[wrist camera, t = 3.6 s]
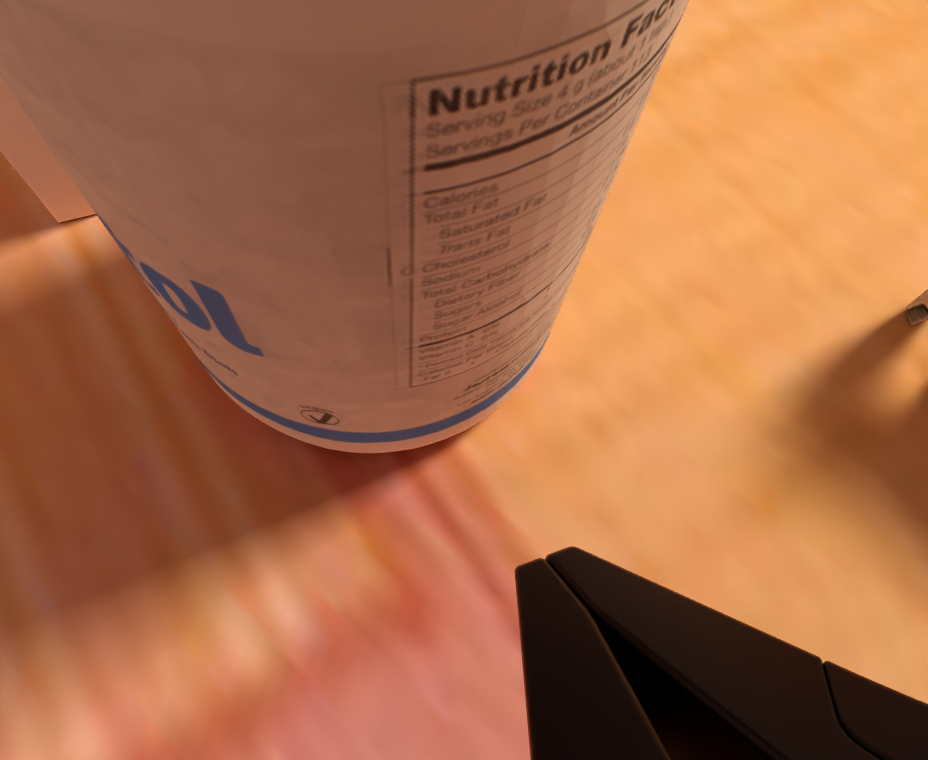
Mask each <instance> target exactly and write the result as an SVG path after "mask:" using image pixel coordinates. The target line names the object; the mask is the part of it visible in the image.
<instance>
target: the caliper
mask: <svg viewBox="0 0 928 760" xmlns="http://www.w3.org/2000/svg"><path fill="white" fill-rule="evenodd" d="M907 317H908V320H909V322H910V324H911V325H914V324H917V323H919V322H922V321H925V320H928V290H926V291H925V292H924V293H923V294H921V295H920V296H919V297H918V298H916V299H915V300H914V301H913V302H912V303H910V304H909V305H908V306H907Z"/></svg>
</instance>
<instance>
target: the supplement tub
mask: <svg viewBox="0 0 928 760" xmlns="http://www.w3.org/2000/svg"><path fill="white" fill-rule="evenodd" d="M688 1H689V0H0V78H1V79H2V80H3V82H4V83H5V85H6V86H7V88H8V89H9V90H10V92H11V93H12V95H13V96H14V98H15V99H16V101H17V102H18V103H19V105H20V106H21V108H22V109H23V111H24V112H25V113H26V115H27V116H28V118H29V119H30V121H31V122H32V123H33V125H34V126H35V128H36V129H37V131H38V132H39V134H40V135H41V136H42V138H43V139H44V141H45V142H46V144H47V145H48V146H49V148H50V149H51V151H52V152H53V154H54V155H55V156H56V158H57V159H58V160H59V162H60V163H61V165H62V166H63V167H64V169H65V170H66V171H67V173H68V174H69V176H70V177H71V179H72V180H73V181H74V183H75V184H76V186H77V187H78V189H79V190H80V191H81V193H82V194H83V196H84V197H85V199H86V200H87V201H88V203H89V204H90V206H91V207H92V209H93V210H94V211H95V213H96V214H97V216H98V217H99V219H100V220H101V221H102V223H103V224H104V226H105V227H106V229H107V230H108V231H109V233H110V234H111V236H112V237H113V239H114V240H115V241H116V243H117V244H118V246H119V247H120V249H121V250H122V251H123V253H124V254H125V256H126V257H127V258H128V260H129V261H130V262H131V264H132V265H133V266H134V268H135V269H136V271H137V272H138V274H139V275H140V277H141V278H142V279H143V281H144V282H145V284H146V285H147V287H148V288H149V290H150V291H151V292H152V294H153V295H154V297H155V298H156V299H157V301H158V302H159V304H160V305H161V307H162V308H163V309H164V311H165V312H166V314H167V315H168V316H169V318H170V319H171V321H172V322H173V323H174V325H175V326H176V328H177V329H178V330H179V332H180V333H181V335H182V336H183V337H184V339H185V340H186V342H187V343H188V344H189V346H190V347H191V349H192V351H193V352H194V354H195V355H196V357H197V358H198V359H199V361H200V362H201V364H202V365H203V366H204V368H205V369H206V370H207V372H208V373H209V374H210V376H211V377H212V378H213V380H214V381H215V382H216V384H217V385H218V386H219V387H220V388H221V389H222V390H223V391H224V392H225V393H226V394H227V395H228V396H229V397H230V398H231V399H232V400H233V401H234V402H235V403H237V404H238V405H239V406H240V407H241V408H243V409H244V410H245V411H246V412H248V413H249V414H251V415H252V416H254V417H255V418H257V419H258V420H260V421H262V422H263V423H265V424H267V425H268V426H270V427H272V428H274V429H276V430H278V431H280V432H282V433H284V434H286V435H288V436H291V437H293V438H295V439H298V440H300V441H303V442H306V443H309V444H312V445H316V446H320V447H323V448H327V449H332V450H338V451H345V452H355V453H385V452H395V451H402V450H408V449H415V448H418V447H422V446H426V445H429V444H432V443H435V442H438V441H441V440H444V439H447V438H449V437H451V436H454V435H456V434H458V433H461V432H463V431H465V430H466V429H468V428H470V427H471V426H473V425H475V424H476V423H478V422H480V421H482V420H483V419H485V418H486V417H487V416H489V415H490V414H492V413H493V412H494V411H495V410H497V409H498V408H499V407H500V406H501V405H502V404H503V403H504V402H506V401H507V400H508V399H509V398H510V397H511V396H512V395H513V393H514V392H515V391H516V390H517V389H518V388H519V387H520V385H521V384H522V383H523V382H524V381H525V379H526V378H527V376H528V375H529V373H530V372H531V370H532V369H533V367H534V366H535V364H536V362H537V360H538V358H539V356H540V354H541V352H542V350H543V348H544V345H545V342H546V340H547V338H548V336H549V334H550V331H551V329H552V326H553V324H554V322H555V319H556V317H557V314H558V312H559V310H560V307H561V305H562V303H563V300H564V298H565V295H566V293H567V291H568V288H569V286H570V283H571V281H572V279H573V276H574V274H575V272H576V269H577V267H578V264H579V262H580V260H581V257H582V255H583V252H584V250H585V247H586V245H587V243H588V240H589V238H590V235H591V233H592V231H593V228H594V226H595V223H596V221H597V219H598V217H599V215H600V212H601V210H602V207H603V205H604V202H605V200H606V197H607V195H608V193H609V190H610V188H611V186H612V183H613V181H614V178H615V176H616V174H617V171H618V169H619V167H620V164H621V162H622V159H623V157H624V155H625V152H626V150H627V147H628V145H629V143H630V140H631V138H632V135H633V133H634V130H635V128H636V126H637V123H638V121H639V118H640V116H641V113H642V111H643V108H644V106H645V104H646V101H647V99H648V96H649V94H650V91H651V89H652V87H653V84H654V82H655V79H656V77H657V74H658V72H659V70H660V67H661V65H662V62H663V60H664V57H665V55H666V53H667V50H668V48H669V46H670V43H671V41H672V39H673V36H674V34H675V32H676V29H677V27H678V25H679V22H680V20H681V17H682V15H683V13H684V10H685V8H686V6H687V3H688Z"/></svg>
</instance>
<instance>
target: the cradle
mask: <svg viewBox="0 0 928 760" xmlns="http://www.w3.org/2000/svg"><path fill="white" fill-rule="evenodd" d="M0 152H1V153H2V154H3V155H4V157H5V158H6V159H7V160H8V161H9V163H10V164H11V165H12V166H13V168H14V169H15V170H16V171H17V173H18V174H19V175H20V176H21V177H22V179H23V180H24V181H25V182H26V184H27V185H28V186H29V187H30V188H31V190H32V191H33V192H34V193H35V195H36V196H37V197H38V198H39V200H40V201H41V202H42V203H43V204H44V206H45V207H46V208H47V209H48V211H49V212H50V213H51V214H52V216H53V217H54V218H55V219H56V220H57V222H58V223H60V222H64V221H68V220H72V219H76V218H81V217H85V216H89V215H93V214H96V213H95V211H94V210H93V209H92V207H91V206H90V204H89V203H88V201H87V200H86V199H85V197H84V196H83V194H82V193H81V191H80V190H79V189H78V187H77V186H76V184H75V183H74V181H73V180H72V179H71V177H70V176H69V174H68V173H67V171H66V170H65V169H64V167H63V166H62V165H61V163H60V162H59V160H58V159H57V158H56V156H55V155H54V154H53V152H52V151H51V149H50V148H49V146H48V145H47V144H46V142H45V141H44V139H43V138H42V136H41V135H40V134H39V132H38V131H37V129H36V128H35V126H34V125H33V123H32V122H31V121H30V119H29V118H28V116H27V115H26V113H25V112H24V111H23V109H22V108H21V106H20V105H19V103H18V102H17V101H16V99H15V98H14V96H13V95H12V93H11V92H10V90H9V89H8V88H7V86H6V85H5V83H4V82H3V80H2V79H1V78H0Z"/></svg>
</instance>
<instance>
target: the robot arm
mask: <svg viewBox="0 0 928 760" xmlns="http://www.w3.org/2000/svg"><path fill="white" fill-rule="evenodd" d="M515 581H516V593H517V605H518V617H519V628H520V640H521V652H522V663H523V675H524V687H525V698H526V710H527V722H528V733H529V745H530V757H531V760H928V704H927V703H924V702H921V701H919V700H916V699H914V698H912V697H909V696H907V695H905V694H902V693H900V692H898V691H895V690H893V689H891V688H888V687H886V686H884V685H881V684H879V683H877V682H874V681H872V680H870V679H867V678H865V677H863V676H860V675H858V674H856V673H854V672H852V671H849V670H847V669H845V668H843V667H840V666H838V665H836V664H834V663H832V662H829V661H825V662H824V663H822V660H821V658H820V657H818V656H816V655H813V654H811V653H809V652H807V651H805V650H802V649H800V648H798V647H796V646H794V645H791V644H789V643H787V642H785V641H783V640H780V639H778V638H776V637H774V636H771V635H769V634H767V633H765V632H763V631H760V630H758V629H756V628H754V627H752V626H749V625H747V624H745V623H743V622H741V621H738V620H736V619H734V618H732V617H730V616H727V615H725V614H723V613H721V612H719V611H716V610H714V609H712V608H710V607H708V606H705V605H703V604H701V603H699V602H696V601H694V600H692V599H690V598H688V597H685V596H683V595H681V594H679V593H677V592H674V591H672V590H670V589H668V588H666V587H663V586H661V585H659V584H657V583H655V582H652V581H650V580H648V579H646V578H644V577H641V576H639V575H637V574H635V573H632V572H630V571H628V570H626V569H624V568H621V567H619V566H617V565H615V564H613V563H610V562H608V561H606V560H604V559H602V558H599V557H597V556H595V555H593V554H591V553H588V552H586V551H584V550H582V549H580V548H577V547H573V546H571V547H567V548H565V549H562V550H559V551H557V552H554V553H551V554H549V555H547V557H546V558H545V559H542V558H538V559H535V560H533V561H530V562H527V563H525V564H522V565H519V566H517V567H516V569H515Z"/></svg>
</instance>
